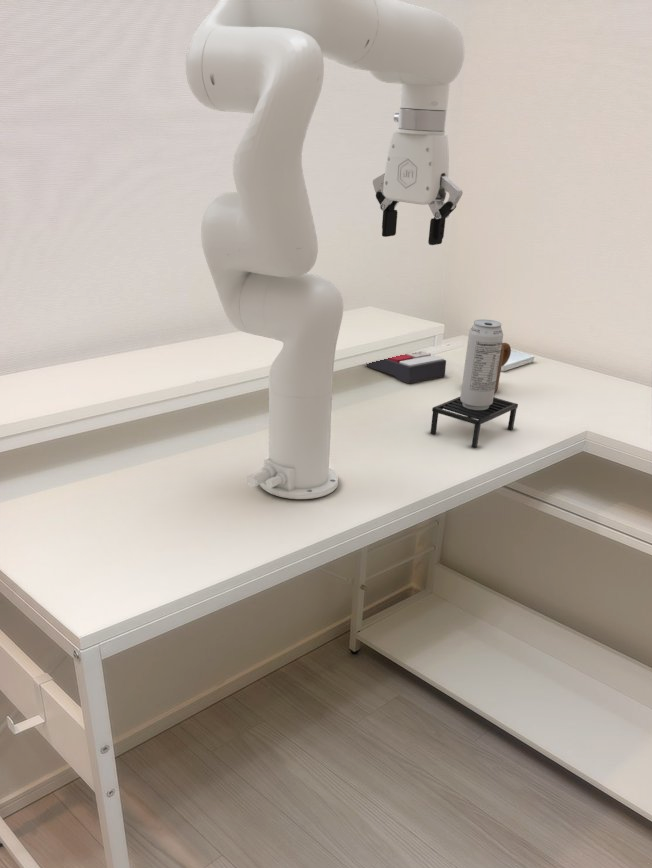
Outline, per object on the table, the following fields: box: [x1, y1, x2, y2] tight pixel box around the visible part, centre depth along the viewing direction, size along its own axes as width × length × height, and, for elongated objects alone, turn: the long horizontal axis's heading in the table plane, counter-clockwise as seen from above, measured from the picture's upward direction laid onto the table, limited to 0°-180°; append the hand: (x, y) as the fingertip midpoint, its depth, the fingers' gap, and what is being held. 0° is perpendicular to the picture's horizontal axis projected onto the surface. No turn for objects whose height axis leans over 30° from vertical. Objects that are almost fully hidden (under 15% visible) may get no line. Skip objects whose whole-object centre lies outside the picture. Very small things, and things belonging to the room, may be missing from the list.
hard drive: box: [501, 349, 535, 372], centre depth 191 cm, size 2×8×12 cm
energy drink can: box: [459, 318, 504, 410], centre depth 145 cm, size 6×6×15 cm
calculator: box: [366, 350, 447, 384], centre depth 181 cm, size 11×4×15 cm
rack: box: [430, 395, 519, 449], centre depth 150 cm, size 14×10×5 cm
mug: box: [494, 342, 512, 394], centre depth 172 cm, size 12×8×9 cm, turn 130°
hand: (411, 240), depth 136 cm, fingers open, 9 cm apart
